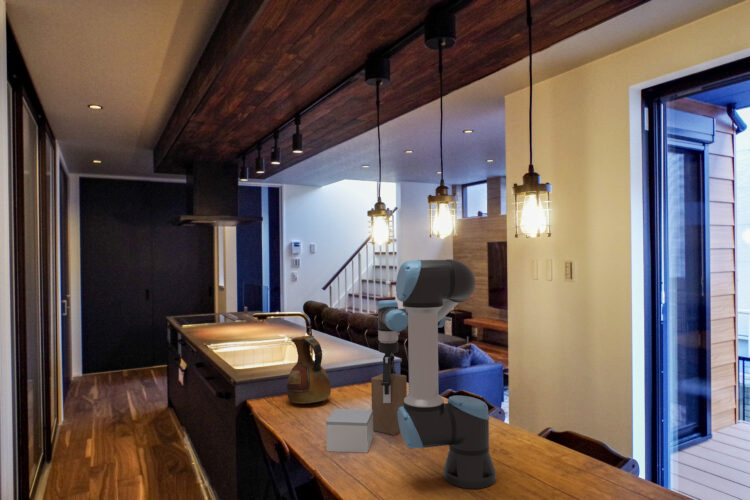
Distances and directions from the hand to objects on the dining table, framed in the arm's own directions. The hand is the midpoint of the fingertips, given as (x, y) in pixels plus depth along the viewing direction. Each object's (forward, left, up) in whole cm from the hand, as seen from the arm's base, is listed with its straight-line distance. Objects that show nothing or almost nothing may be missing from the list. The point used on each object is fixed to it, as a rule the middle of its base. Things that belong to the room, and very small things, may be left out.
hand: (389, 397), depth 192 cm
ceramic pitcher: (+31, +40, -12) cm, 52 cm away
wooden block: (0, 0, -12) cm, 12 cm away
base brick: (-16, +12, -12) cm, 23 cm away
